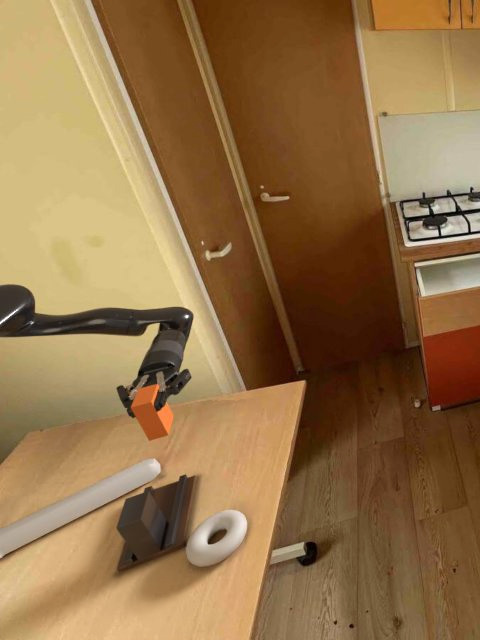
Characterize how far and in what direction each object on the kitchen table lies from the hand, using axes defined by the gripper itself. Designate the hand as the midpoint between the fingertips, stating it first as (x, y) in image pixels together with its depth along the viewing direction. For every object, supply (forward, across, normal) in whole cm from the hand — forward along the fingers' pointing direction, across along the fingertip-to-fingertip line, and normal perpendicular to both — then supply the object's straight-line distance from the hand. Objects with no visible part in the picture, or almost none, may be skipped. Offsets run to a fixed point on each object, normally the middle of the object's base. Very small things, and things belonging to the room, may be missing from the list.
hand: (145, 411), depth 89 cm
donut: (+24, +11, +18) cm, 32 cm away
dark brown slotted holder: (+14, 0, +18) cm, 22 cm away
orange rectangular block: (-3, 0, +8) cm, 8 cm away
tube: (+4, -14, +18) cm, 23 cm away
